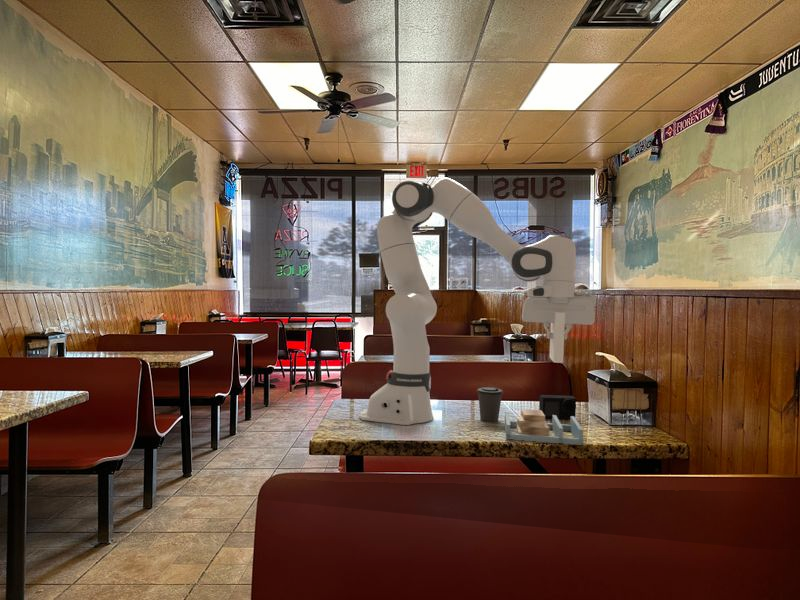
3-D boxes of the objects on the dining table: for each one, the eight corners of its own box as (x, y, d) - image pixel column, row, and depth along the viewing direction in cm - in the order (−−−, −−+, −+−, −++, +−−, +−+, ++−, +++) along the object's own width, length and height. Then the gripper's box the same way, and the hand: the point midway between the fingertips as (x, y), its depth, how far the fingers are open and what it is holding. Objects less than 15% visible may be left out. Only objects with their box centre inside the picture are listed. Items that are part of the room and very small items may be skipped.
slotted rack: (506, 439, 136) (506, 424, 136) (504, 425, 151) (505, 412, 151) (582, 445, 132) (583, 429, 132) (573, 430, 147) (574, 416, 147)
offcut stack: (518, 437, 138) (518, 415, 138) (516, 428, 148) (516, 407, 148) (549, 440, 136) (550, 417, 136) (545, 430, 146) (546, 409, 146)
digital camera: (543, 420, 158) (543, 398, 158) (538, 416, 164) (539, 394, 164) (576, 421, 158) (577, 398, 158) (571, 417, 164) (571, 395, 164)
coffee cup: (502, 424, 152) (503, 390, 152) (475, 422, 154) (476, 389, 154) (502, 418, 160) (503, 386, 160) (476, 416, 162) (477, 384, 162)
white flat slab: (553, 362, 143) (555, 312, 142) (549, 357, 154) (551, 311, 154) (563, 363, 142) (565, 312, 142) (558, 357, 154) (559, 311, 154)
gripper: (594, 292, 149) (592, 339, 149) (522, 290, 153) (520, 336, 153) (598, 292, 143) (596, 341, 143) (523, 290, 147) (521, 338, 147)
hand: (556, 339), depth 148 cm, fingers closed on white flat slab, 2 cm apart
